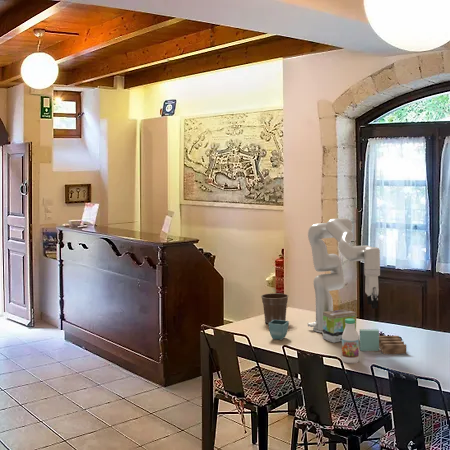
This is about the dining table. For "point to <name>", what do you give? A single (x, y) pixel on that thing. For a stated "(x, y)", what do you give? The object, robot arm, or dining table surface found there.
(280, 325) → the flower pot
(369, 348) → the mint green block
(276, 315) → the plant pot
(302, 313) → the dining table surface
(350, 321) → the milk bottle
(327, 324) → the tea box
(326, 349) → the dining table surface
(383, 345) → the rack
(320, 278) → the robot arm
